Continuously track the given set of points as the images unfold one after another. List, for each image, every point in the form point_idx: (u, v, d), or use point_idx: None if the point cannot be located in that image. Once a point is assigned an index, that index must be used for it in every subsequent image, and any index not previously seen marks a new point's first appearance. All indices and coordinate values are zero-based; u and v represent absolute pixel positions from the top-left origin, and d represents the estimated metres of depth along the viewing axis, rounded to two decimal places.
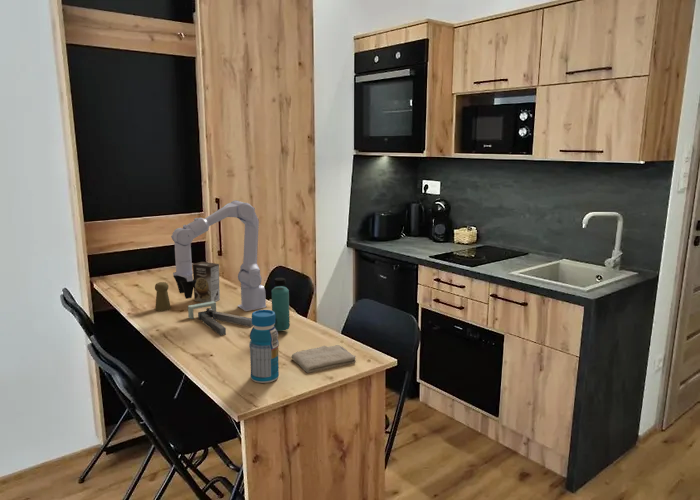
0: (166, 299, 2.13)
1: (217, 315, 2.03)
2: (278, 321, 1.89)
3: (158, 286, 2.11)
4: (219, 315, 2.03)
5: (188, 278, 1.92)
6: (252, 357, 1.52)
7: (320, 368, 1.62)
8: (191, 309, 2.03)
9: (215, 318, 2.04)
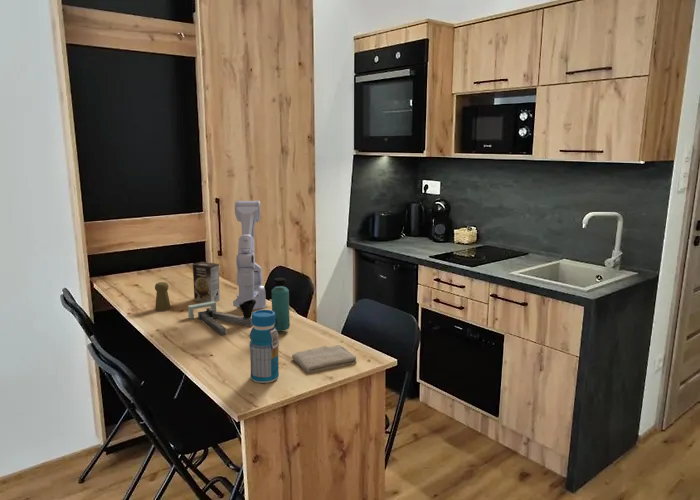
0: (166, 299, 2.13)
1: (217, 315, 2.03)
2: (278, 321, 1.89)
3: (158, 286, 2.11)
4: (219, 315, 2.03)
5: (234, 303, 1.93)
6: (252, 357, 1.52)
7: (321, 368, 1.62)
8: (191, 309, 2.03)
9: (215, 318, 2.04)
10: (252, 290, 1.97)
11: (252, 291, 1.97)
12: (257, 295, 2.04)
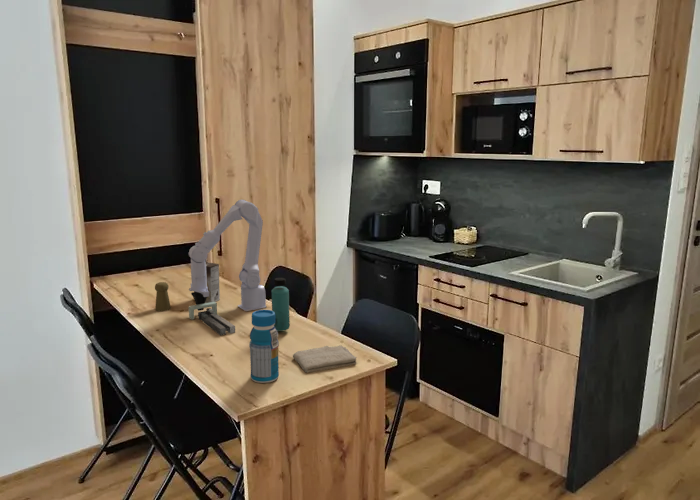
0: (166, 299, 2.13)
1: (211, 316, 2.02)
2: (278, 321, 1.89)
3: (158, 286, 2.11)
4: (212, 317, 2.01)
5: (205, 294, 2.01)
6: (252, 357, 1.52)
7: (319, 368, 1.62)
8: (192, 310, 2.03)
9: None
10: None
11: None
12: None
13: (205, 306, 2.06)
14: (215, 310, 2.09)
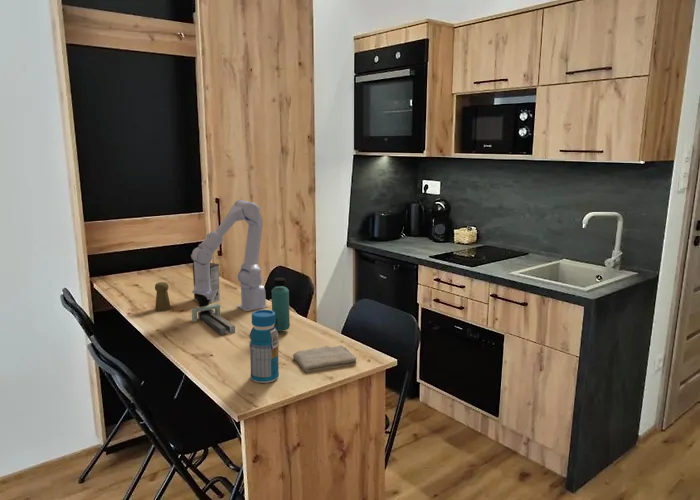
0: (166, 299, 2.13)
1: (211, 316, 2.02)
2: (278, 321, 1.89)
3: (158, 286, 2.11)
4: (212, 317, 2.01)
5: (208, 296, 1.98)
6: (252, 357, 1.52)
7: (319, 368, 1.62)
8: (195, 312, 2.00)
9: None
10: None
11: None
12: None
13: (208, 308, 2.03)
14: (218, 312, 2.06)
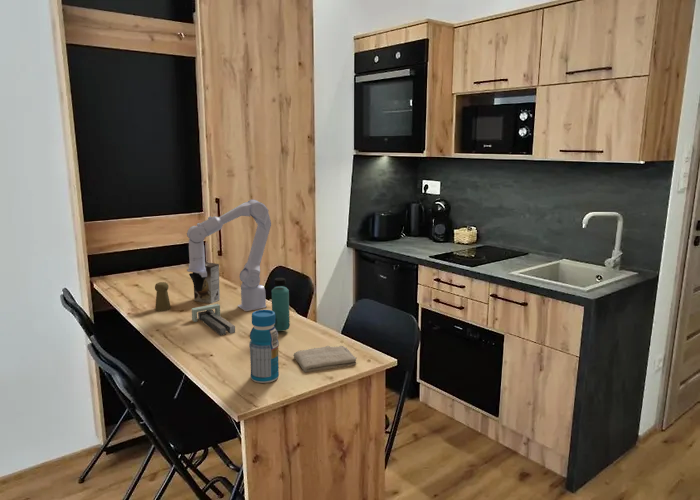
0: (166, 299, 2.13)
1: (211, 316, 2.02)
2: (278, 321, 1.89)
3: (158, 286, 2.11)
4: (212, 317, 2.01)
5: (203, 274, 2.00)
6: (252, 357, 1.52)
7: (318, 368, 1.62)
8: (195, 312, 2.00)
9: None
10: None
11: None
12: None
13: (208, 308, 2.03)
14: (218, 312, 2.06)
